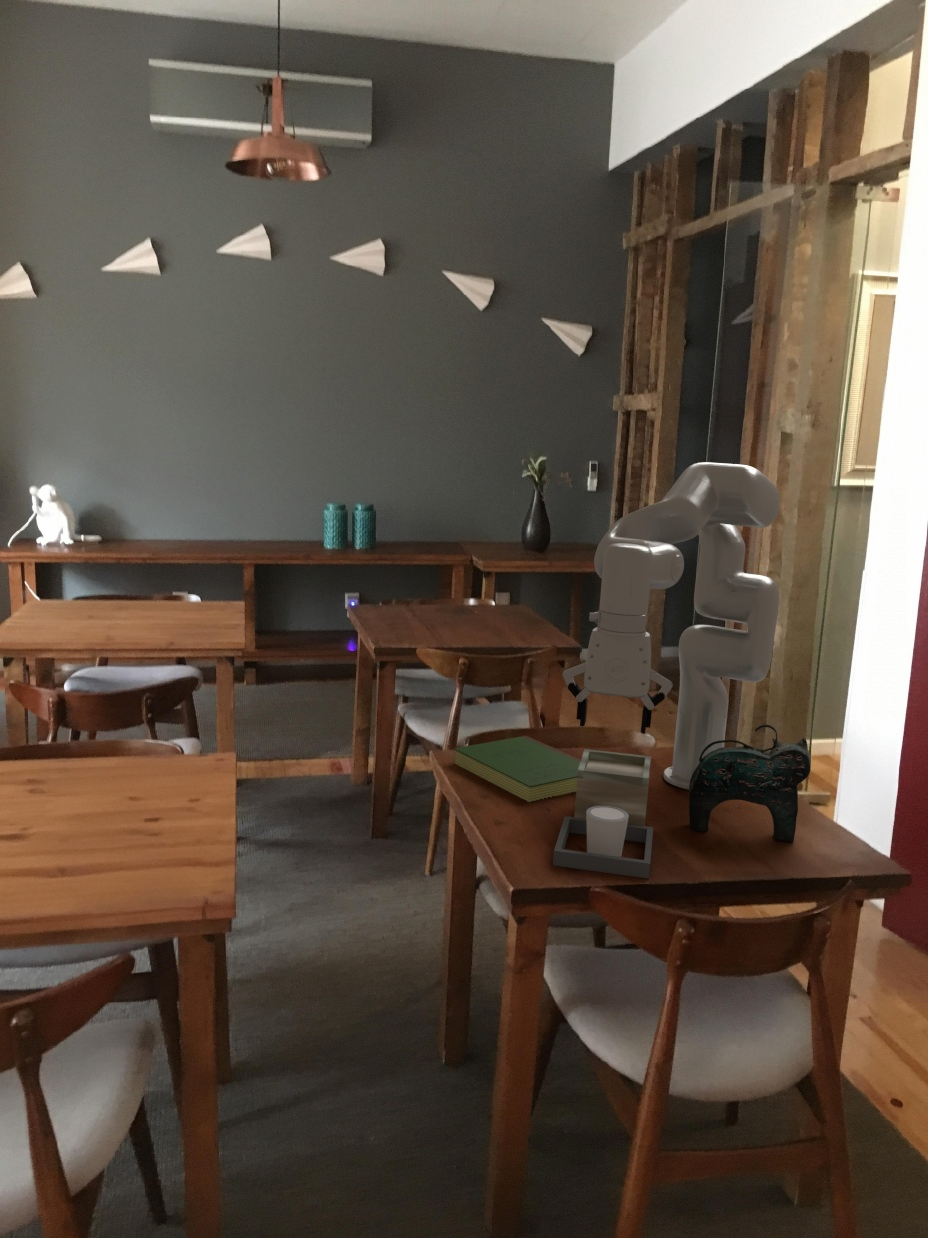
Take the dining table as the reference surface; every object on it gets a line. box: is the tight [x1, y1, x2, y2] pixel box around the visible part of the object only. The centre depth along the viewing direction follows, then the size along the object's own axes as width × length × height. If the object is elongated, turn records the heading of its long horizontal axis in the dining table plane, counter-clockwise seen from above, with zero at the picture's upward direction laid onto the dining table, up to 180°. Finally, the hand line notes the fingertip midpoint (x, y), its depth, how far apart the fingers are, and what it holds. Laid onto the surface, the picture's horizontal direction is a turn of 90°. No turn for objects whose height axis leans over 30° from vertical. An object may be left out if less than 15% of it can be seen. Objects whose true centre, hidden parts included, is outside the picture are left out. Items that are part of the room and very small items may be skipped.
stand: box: [573, 748, 652, 826], centre depth 180 cm, size 12×12×10 cm
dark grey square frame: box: [552, 815, 654, 880], centre depth 166 cm, size 15×15×2 cm
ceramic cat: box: [688, 724, 812, 843], centre depth 175 cm, size 20×6×20 cm, turn 78°
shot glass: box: [586, 806, 629, 857], centre depth 165 cm, size 7×7×7 cm
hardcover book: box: [453, 735, 581, 803], centre depth 202 cm, size 25×19×4 cm
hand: (612, 727), depth 162 cm, fingers open, 9 cm apart
